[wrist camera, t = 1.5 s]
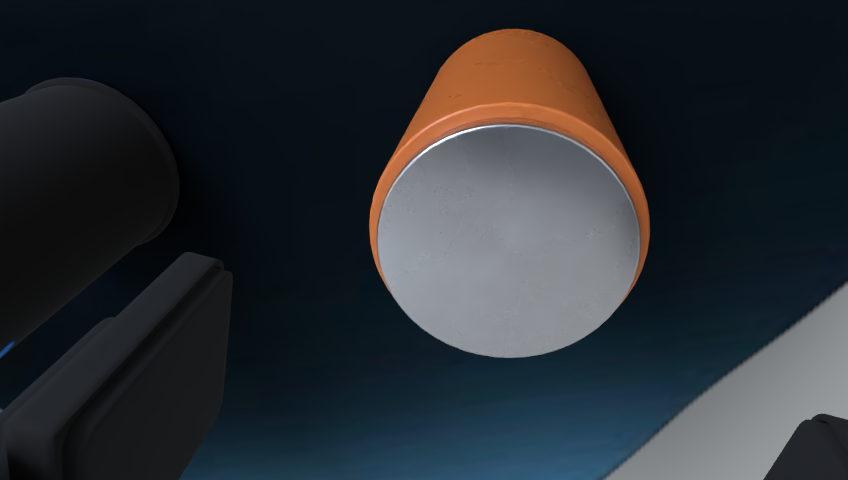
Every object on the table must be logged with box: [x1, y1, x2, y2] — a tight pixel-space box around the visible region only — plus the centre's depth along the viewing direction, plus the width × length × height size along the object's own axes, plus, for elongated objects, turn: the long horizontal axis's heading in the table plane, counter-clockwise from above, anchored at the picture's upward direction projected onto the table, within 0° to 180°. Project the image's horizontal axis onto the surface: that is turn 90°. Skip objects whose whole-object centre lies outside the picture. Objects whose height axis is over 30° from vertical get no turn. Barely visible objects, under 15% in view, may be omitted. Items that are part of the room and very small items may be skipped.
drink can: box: [369, 29, 650, 358], centre depth 20 cm, size 7×7×12 cm
